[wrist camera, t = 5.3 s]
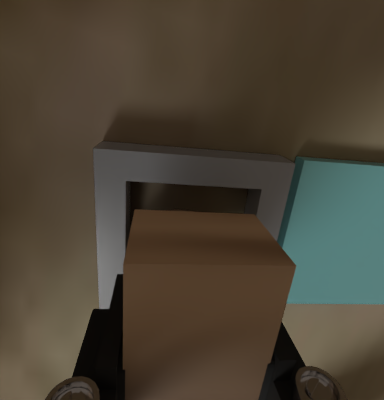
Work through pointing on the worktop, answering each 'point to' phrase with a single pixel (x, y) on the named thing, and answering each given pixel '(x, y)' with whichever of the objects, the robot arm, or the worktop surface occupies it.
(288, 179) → the socket
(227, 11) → the worktop surface
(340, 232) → the tile
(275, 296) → the t-key
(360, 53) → the worktop surface
